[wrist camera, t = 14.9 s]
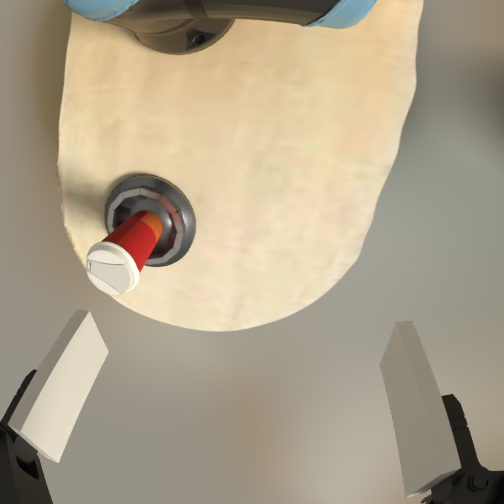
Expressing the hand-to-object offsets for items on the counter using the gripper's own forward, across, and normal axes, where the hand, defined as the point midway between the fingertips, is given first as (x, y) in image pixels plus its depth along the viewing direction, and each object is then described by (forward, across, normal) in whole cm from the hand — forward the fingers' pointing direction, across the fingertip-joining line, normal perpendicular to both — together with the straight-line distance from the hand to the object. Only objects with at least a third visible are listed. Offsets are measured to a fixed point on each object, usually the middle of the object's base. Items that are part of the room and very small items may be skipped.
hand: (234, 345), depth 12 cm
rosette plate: (+34, -19, -10) cm, 40 cm away
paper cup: (+33, -19, -10) cm, 40 cm away
